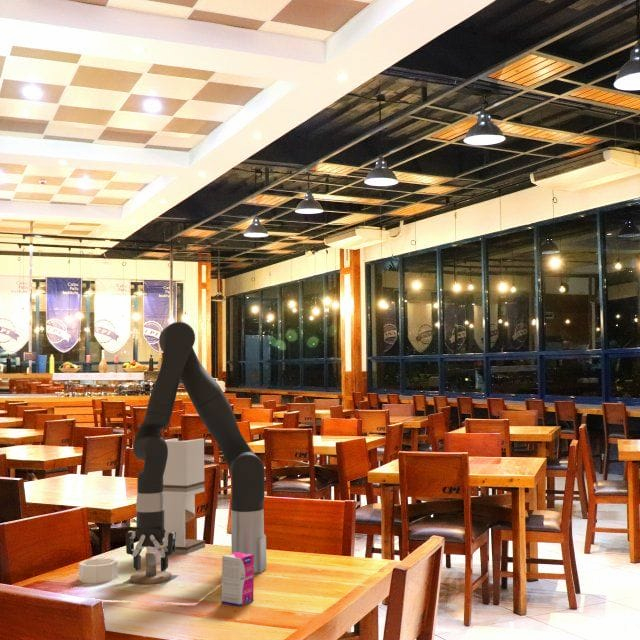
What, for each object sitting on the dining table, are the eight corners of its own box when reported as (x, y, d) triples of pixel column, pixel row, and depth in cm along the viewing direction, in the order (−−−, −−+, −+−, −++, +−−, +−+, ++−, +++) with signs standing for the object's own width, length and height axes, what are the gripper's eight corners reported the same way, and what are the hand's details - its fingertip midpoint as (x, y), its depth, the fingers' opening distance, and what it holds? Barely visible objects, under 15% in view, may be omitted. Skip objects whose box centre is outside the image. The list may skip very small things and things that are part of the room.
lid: (177, 574, 229) (177, 549, 230) (162, 584, 219) (162, 558, 219) (140, 573, 232) (140, 548, 232) (123, 583, 221) (123, 556, 221)
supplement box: (240, 607, 198) (239, 558, 199) (221, 603, 202) (220, 555, 202) (254, 601, 203) (254, 553, 204) (235, 598, 206) (235, 551, 207)
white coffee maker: (187, 553, 259) (186, 441, 262) (158, 551, 263) (157, 441, 265) (205, 546, 270) (203, 438, 272) (176, 544, 274) (175, 438, 276)
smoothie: (163, 567, 242) (162, 518, 243) (141, 567, 242) (141, 518, 243) (167, 562, 248) (167, 514, 249) (146, 562, 248) (146, 515, 249)
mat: (178, 577, 229) (178, 575, 229) (164, 586, 219) (164, 584, 219) (138, 576, 231) (138, 574, 231) (122, 585, 221) (122, 583, 221)
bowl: (122, 576, 231) (122, 558, 231) (106, 585, 221) (106, 566, 222) (90, 575, 233) (90, 557, 233) (73, 584, 223) (73, 565, 224)
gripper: (180, 507, 229) (180, 568, 228) (131, 506, 232) (131, 566, 230) (169, 511, 221) (170, 574, 220) (120, 510, 224) (120, 572, 223)
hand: (150, 570), depth 225 cm, fingers open, 7 cm apart
